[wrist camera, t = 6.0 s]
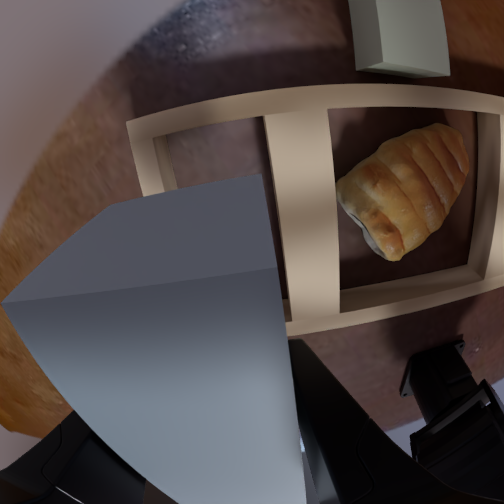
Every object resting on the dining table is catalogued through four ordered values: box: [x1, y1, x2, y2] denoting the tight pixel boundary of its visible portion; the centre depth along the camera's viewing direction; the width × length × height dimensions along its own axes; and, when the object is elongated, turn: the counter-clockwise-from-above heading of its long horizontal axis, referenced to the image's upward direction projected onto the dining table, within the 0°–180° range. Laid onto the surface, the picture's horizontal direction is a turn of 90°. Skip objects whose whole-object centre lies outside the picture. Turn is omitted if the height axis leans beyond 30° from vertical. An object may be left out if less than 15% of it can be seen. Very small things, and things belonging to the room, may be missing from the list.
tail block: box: [348, 0, 450, 79], centre depth 11 cm, size 6×4×4 cm, turn 4°
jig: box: [126, 84, 504, 336], centre depth 16 cm, size 14×31×2 cm, turn 99°
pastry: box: [335, 123, 469, 261], centre depth 15 cm, size 9×7×4 cm
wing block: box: [1, 174, 306, 504], centre depth 7 cm, size 9×4×4 cm, turn 10°
